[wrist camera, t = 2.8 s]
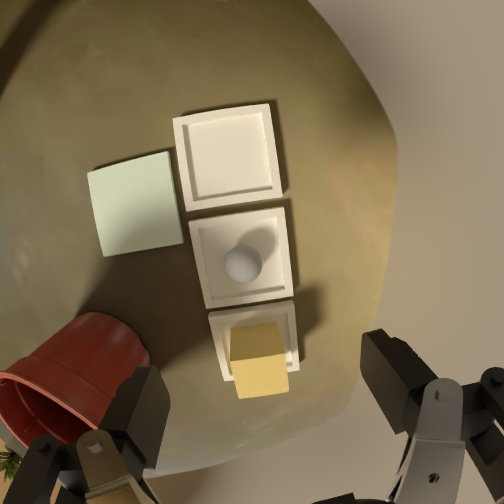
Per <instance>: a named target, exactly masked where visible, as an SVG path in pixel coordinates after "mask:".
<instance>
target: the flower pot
mask: <svg viewBox="0 0 504 504" xmlns="http://www.w3.org/2000/svg"><path fill="white" fill-rule="evenodd" d="M142 365H151V361H150V356H149V353H148V350H147V349H145V348H144V346H143V345H142V343H141V341H140V339H139V337H138V335H137V334H136V333H135V332H134V331H133V330H132V329H131V328H130V327H129V326H127V325H126V324H125V323H123V322H122V321H120V320H118V319H116V318H114V317H112V316H110V315H107V314H104V313H99V312H88V313H86V314H83V315H80V316H78V317H76V318H74V319H73V320H72V321H71V322H69V323H68V324H67V325H66V326H64V327H63V328H62V329H61V330H59V331H58V332H57V333H56V334H54V335H53V336H52V337H51V338H49V339H48V340H47V341H46V342H44V343H43V344H42V345H41V346H40V347H38V348H37V349H36V350H35V351H34V352H32V353H31V354H30V355H29V356H28V357H24V358H21V359H19V360H18V361H17V362H16V363H14V364H13V365H12V366H11V367H9V368H8V369H7V370H5V371H0V418H1V419H2V421H3V422H4V423H5V425H6V426H7V427H8V429H9V430H10V431H11V432H12V433H13V435H14V436H15V437H16V438H17V439H18V440H19V441H20V442H21V443H22V444H23V445H24V446H26V447H27V448H29V446H30V444H31V443H32V441H33V440H34V439H35V438H36V437H38V436H40V435H42V434H51V435H53V436H55V437H56V439H57V440H58V441H59V442H60V443H61V444H65V443H77V441H78V439H79V438H80V437H81V436H82V435H83V434H84V433H86V432H88V431H90V430H95V429H98V427H99V425H100V423H101V421H102V419H103V416H104V414H105V412H106V410H107V408H108V406H109V404H111V400H112V398H113V396H114V394H115V392H116V390H117V388H118V386H119V385H120V384H121V383H122V382H123V381H124V380H125V379H126V378H131V376H132V374H133V372H134V370H135V368H136V366H142Z"/></svg>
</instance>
